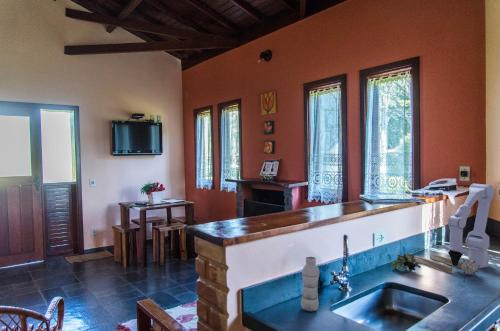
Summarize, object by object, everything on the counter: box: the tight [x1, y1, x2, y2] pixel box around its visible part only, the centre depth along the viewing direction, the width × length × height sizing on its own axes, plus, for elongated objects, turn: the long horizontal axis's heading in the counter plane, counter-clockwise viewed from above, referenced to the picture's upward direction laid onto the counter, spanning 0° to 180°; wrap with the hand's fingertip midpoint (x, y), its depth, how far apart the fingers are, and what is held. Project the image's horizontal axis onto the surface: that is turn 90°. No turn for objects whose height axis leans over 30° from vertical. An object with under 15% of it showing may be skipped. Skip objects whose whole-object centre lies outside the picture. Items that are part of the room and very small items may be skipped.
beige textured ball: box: [458, 258, 480, 277], centre depth 182 cm, size 9×8×10 cm
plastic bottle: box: [300, 256, 320, 312], centre depth 139 cm, size 6×7×20 cm
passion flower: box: [390, 253, 422, 274], centre depth 186 cm, size 11×11×12 cm
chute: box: [413, 252, 463, 274], centre depth 197 cm, size 14×22×3 cm, turn 25°
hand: (455, 265), depth 189 cm, fingers closed
